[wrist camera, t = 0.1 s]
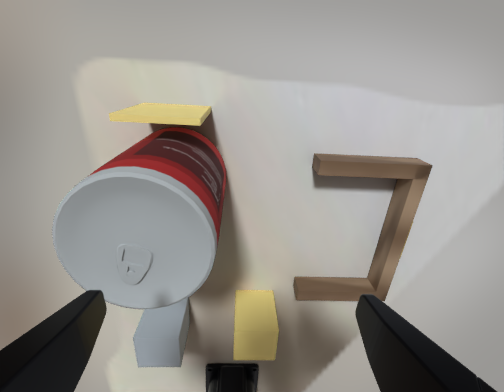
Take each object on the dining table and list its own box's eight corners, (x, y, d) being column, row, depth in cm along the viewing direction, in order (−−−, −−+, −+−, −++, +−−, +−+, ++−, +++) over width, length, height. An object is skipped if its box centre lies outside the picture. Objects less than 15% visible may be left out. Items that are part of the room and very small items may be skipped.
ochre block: (269, 317, 30) (274, 360, 26) (234, 316, 30) (233, 360, 26) (272, 290, 29) (279, 331, 24) (235, 289, 28) (234, 330, 24)
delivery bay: (377, 286, 29) (386, 301, 27) (293, 285, 28) (296, 300, 27) (419, 158, 23) (434, 165, 21) (314, 153, 22) (320, 160, 21)
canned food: (141, 213, 24) (72, 311, 14) (128, 123, 21) (25, 168, 11) (226, 214, 25) (217, 311, 15) (226, 126, 21) (214, 172, 11)
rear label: (210, 111, 21) (200, 125, 15) (144, 108, 20) (110, 120, 15) (210, 106, 21) (200, 118, 15) (144, 102, 20) (109, 113, 15)
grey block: (189, 322, 30) (180, 367, 26) (153, 322, 30) (138, 367, 25) (188, 296, 29) (178, 338, 24) (150, 295, 28) (133, 338, 24)
